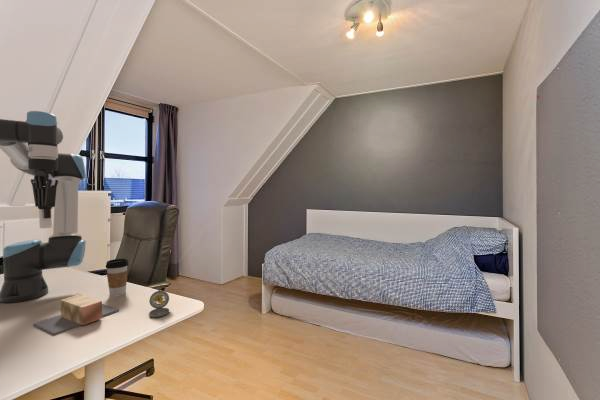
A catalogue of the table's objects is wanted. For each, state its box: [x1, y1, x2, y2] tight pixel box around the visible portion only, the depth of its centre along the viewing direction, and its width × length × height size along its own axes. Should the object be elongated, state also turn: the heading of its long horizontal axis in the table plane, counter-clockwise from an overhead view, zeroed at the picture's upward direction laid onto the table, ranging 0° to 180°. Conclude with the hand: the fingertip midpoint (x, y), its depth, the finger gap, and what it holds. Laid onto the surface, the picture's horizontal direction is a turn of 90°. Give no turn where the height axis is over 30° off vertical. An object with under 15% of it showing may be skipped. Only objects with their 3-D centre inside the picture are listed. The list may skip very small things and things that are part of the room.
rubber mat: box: [32, 303, 120, 336], centre depth 100 cm, size 14×20×1 cm
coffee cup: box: [105, 258, 130, 297], centre depth 123 cm, size 8×8×15 cm
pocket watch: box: [148, 283, 170, 318], centre depth 105 cm, size 8×8×10 cm
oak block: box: [60, 294, 103, 326], centre depth 99 cm, size 6×6×14 cm
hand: (45, 227), depth 97 cm, fingers closed
